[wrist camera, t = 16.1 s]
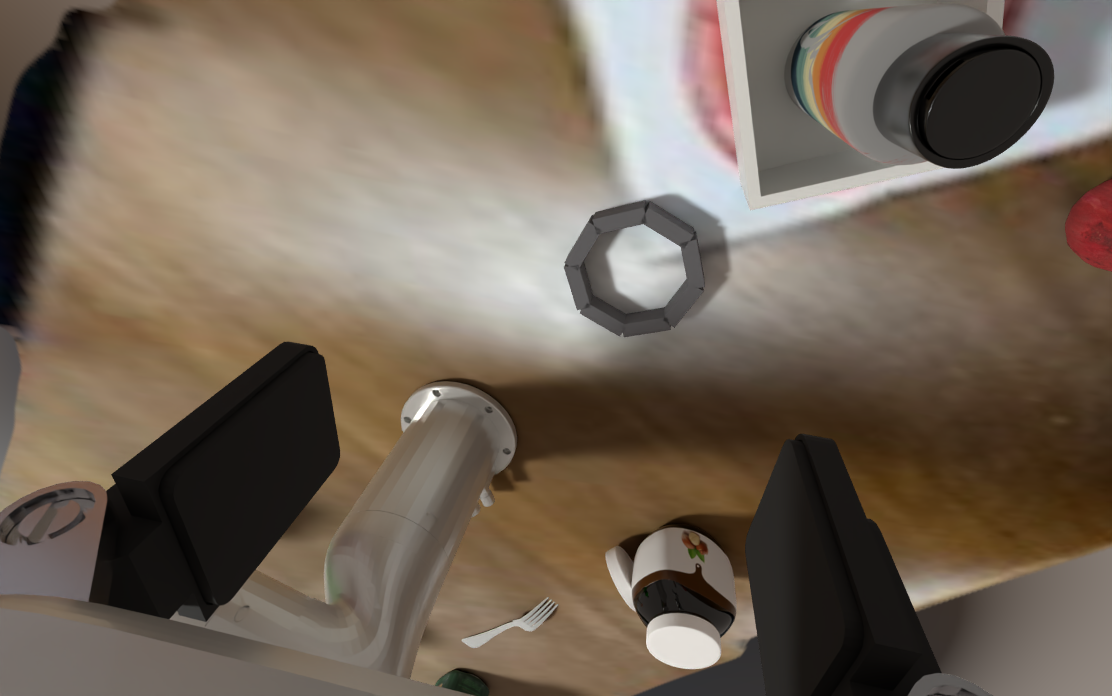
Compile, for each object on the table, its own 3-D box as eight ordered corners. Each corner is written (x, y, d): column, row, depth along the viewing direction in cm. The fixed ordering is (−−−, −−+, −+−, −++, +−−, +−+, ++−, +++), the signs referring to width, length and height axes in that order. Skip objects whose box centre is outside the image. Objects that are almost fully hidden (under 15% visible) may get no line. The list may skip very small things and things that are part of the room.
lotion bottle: (831, -11, 31) (1005, -51, 14) (905, 46, 32) (1155, 73, 15) (762, 81, 34) (839, 138, 17) (831, 132, 35) (970, 233, 18)
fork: (465, 622, 81) (457, 640, 79) (548, 591, 69) (542, 612, 67) (479, 632, 82) (472, 650, 80) (563, 603, 69) (558, 624, 67)
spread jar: (742, 550, 57) (755, 657, 48) (678, 594, 63) (677, 698, 54) (651, 496, 56) (645, 596, 46) (594, 547, 62) (578, 644, 52)
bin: (941, 135, 34) (991, 157, 29) (740, 183, 38) (750, 210, 32) (951, -100, 28) (1015, -130, 23) (714, -16, 32) (721, -24, 27)
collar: (710, 313, 44) (711, 323, 42) (590, 332, 47) (587, 343, 45) (688, 190, 39) (688, 196, 37) (556, 221, 42) (552, 228, 41)
